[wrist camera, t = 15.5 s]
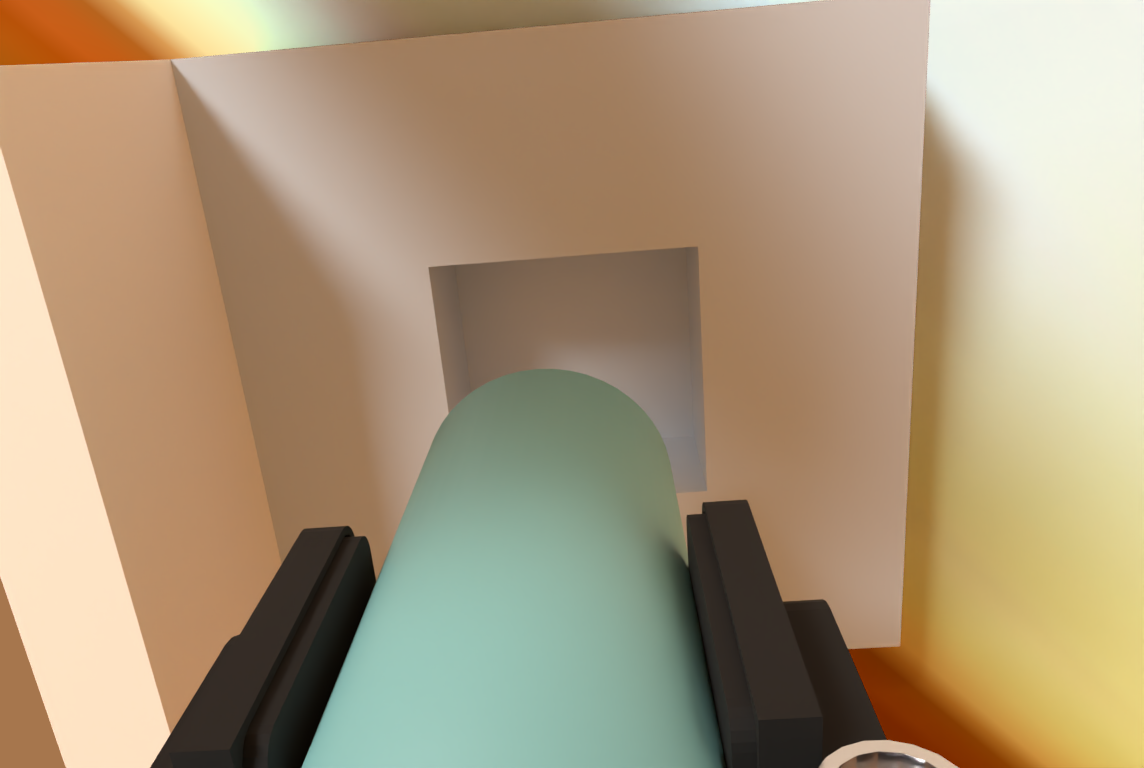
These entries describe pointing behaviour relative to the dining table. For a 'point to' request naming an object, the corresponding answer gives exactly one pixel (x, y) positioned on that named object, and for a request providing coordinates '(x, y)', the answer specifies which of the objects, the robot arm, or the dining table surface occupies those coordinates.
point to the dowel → (531, 599)
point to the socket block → (588, 260)
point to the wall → (118, 411)
